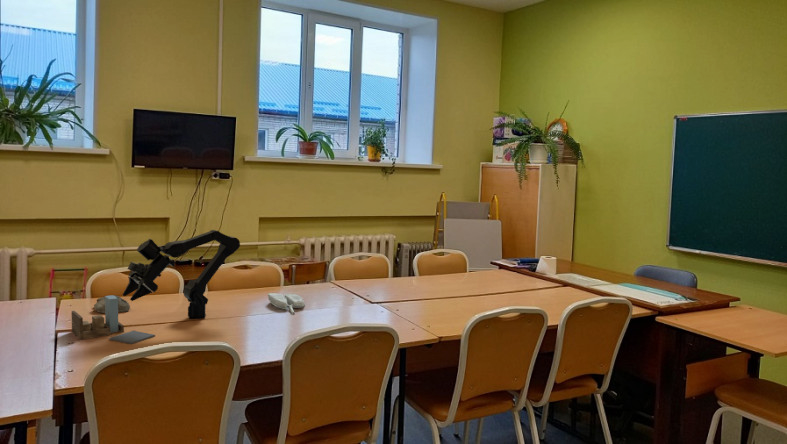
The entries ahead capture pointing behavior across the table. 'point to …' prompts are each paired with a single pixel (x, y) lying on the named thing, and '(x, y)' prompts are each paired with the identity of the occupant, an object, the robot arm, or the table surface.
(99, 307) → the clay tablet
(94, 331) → the rack
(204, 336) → the table surface
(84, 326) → the offcut short
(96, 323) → the offcut tall
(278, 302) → the lung model
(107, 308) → the pale blue wedge-ended prism
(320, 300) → the table surface
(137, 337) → the mat
